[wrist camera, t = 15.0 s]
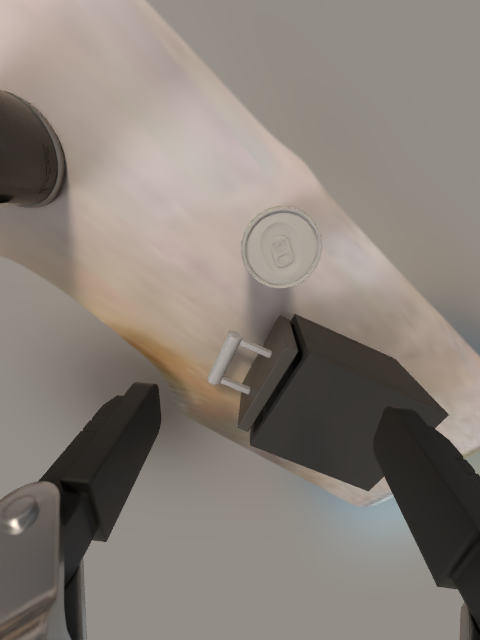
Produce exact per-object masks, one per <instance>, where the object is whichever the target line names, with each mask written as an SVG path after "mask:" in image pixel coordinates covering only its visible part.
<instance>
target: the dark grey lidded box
mask: <svg viewBox="0 0 480 640" xmlns="http://www.w3.org/2000/svg"><path fill="white" fill-rule="evenodd" d="M290 324H291V328H292V331H293V335H295V333H296V334H297V338H298V341H299V344H300V347H301V350H302V353H303V358H302V359H301V361H300V362H299V364H298V365H297V367H296V369H295V370H294V372H293V373H292V375H291V376H290V378H289V379H288V381H287V383H286V384H285V386H284V387H283V389H282V390H281V392H280V393H279V395H278V397H277V398H276V400H275V401H274V403H273V404H272V406H271V407H270V409H269V411H268V412H267V414H266V415H265V417H264V418H263V409H262V410H261V412H260V414H259V415H258V417H257V418H256V420H255V421H254V423H253V425H252V426H251V435H250V445H251V446H253V447H256V448H259V449H261V450H264V451H266V452H269V453H271V454H274V455H277V456H279V457H282V458H284V459H287V460H289V461H292V462H295V463H297V464H300V465H302V466H305V467H307V468H310V469H313V470H315V471H318V472H320V473H323V474H325V475H328V476H330V477H333V478H336V479H338V480H341V481H343V482H346V483H348V484H351V485H354V486H356V487H359V488H361V489H364V490H366V491H369V490H370V489H371V488H372V487H373V486H374V485H376V484H377V483H378V482H379V481H380V480H381V479H382V478H383V477H384V474H383V472H382V470H381V468H380V466H379V464H378V462H377V460H376V458H375V454H374V450H373V440H374V436H375V433H376V431H377V428H378V425H379V422H380V419H381V417H382V414H383V411H384V409H385V408H386V407H388V406H391V407H401V408H411V409H414V410H415V411H416V412H417V413H418V414H419V415H420V417H421V418H422V419H423V420H424V422H425V423H426V424H427V425H428V426H432V427H433V428H434V429H435V428H436V427H437V426H438V425H439V424H440V423H441V422H442V421H443V420H444V419H445V418H446V417H447V416H448V415H449V414H448V413H447V412H446V411H445V410H444V409H443V408H442V407H441V406H440V405H439V404H438V403H437V402H436V401H435V400H434V399H433V398H432V397H431V396H430V395H429V394H428V393H427V392H426V391H425V390H424V389H423V388H422V386H421V385H420V384H419V383H418V382H417V381H416V380H415V379H414V378H413V377H412V376H411V375H410V374H409V373H408V372H407V371H406V370H405V369H404V368H403V367H402V366H401V365H400V364H399V362H398V361H397V360H396V359H394V358H392V357H389V356H387V355H385V354H383V353H380V352H378V351H376V350H374V349H372V348H369V347H367V346H365V345H363V344H360V343H358V342H356V341H354V340H352V339H349V338H347V337H345V336H343V335H341V334H338V333H336V332H334V331H332V330H329V329H327V328H325V327H323V326H321V325H318V324H316V323H314V322H312V321H309V320H307V319H305V318H303V317H301V316H298V315H296V314H295V315H294V316H293V318H292V320H291V322H290Z"/></svg>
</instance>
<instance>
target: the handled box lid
mask: <svg viewBox="0 0 480 640" xmlns="http://www.w3.org/2000/svg"><path fill="white" fill-rule="evenodd" d="M238 345H240V346H242V347H244V348H247V349H249V350H251V351H254V352H256V353H258V356H257V358H256V359H255V361H254V363H253V365H252V367H251V369H250V370H249V372H248V374H247V376H246V378H245V379H244V381H243V383H242V384H241V383H239V382H236V381H234V380H231V379H229V378H227V377H224V376H223V375H224V373H225V371H226V369H227V367H228V365H229V363H230V361H231V359H232V357H233V355H234V353H235V351H236V349H237V347H238ZM302 358H303V353H302V350H301V347H300V344H299V341H298V338H297V334H296V333H295V335H293V331H292V328H291V324H290V321H289V319H287V318H285V317H282V316H279V318H278V320H277V321H276V323H275V325H274V327H273V329H272V331H271V332H270V334H269V336H268V338H267V340H266V341H265V343H264V345H263V347H262V346H259V345H257V344H255V343H252V342H250V341H248V340H245V339H243V338H242V336H241V334H239V333H238V332H236V331H229V333H228V335H227V337H226V340H225V342H224V344H223V346H222V348H221V350H220V352H219V354H218V356H217V359H216V361H215V363H214V365H213V367H212V369H211V371H210V373H209V375H208V378H207V379H208V381H209V382H210V383H211V384H213V385H218V384H219V383H221V384H224V385H226V386H229V387H231V388H234V389H236V390H238V391H241V401H240V410H239V420H238V428H240V429H242V430H245V431H247V432H248V431H249V429H250V428H251V426H252V425H253V423H254V421H255V420H256V418H257V417H258V415H259V414H260V412H261V410H262V409H263V418H264V417H265V415H266V414H267V412H268V411H269V409H270V407H271V406H272V404H273V403H274V401H275V400H276V398H277V397H278V395H279V393H280V392H281V390H282V389H283V387H284V386H285V384H286V383H287V381H288V379H289V378H290V376H291V375H292V373H293V372H294V370H295V369H296V367H297V365H298V364H299V362H300V361H301V359H302Z"/></svg>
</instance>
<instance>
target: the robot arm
mask: <svg viewBox="0 0 480 640" xmlns="http://www.w3.org/2000/svg"><path fill="white" fill-rule="evenodd" d="M64 173H65V165H64V157H63V153H62V149H61V146H60V143H59V141H58V138H57V136H56V134H55V132H54V130H53V129H52V127H51V126H50V124H49V123H48V121H47V120H46V119H45V117H44V116H43V115H42V114H41V113H40V112H39V111H38V110H37V109H36V108H35V107H33V106H32V105H31V104H30V103H28V102H27V101H25V100H23V99H21V98H19V97H17V96H15V95H13V94H11V93H9V92H6V91H3V90H0V206H1V205H16V206H20V207H41V206H44V205H46V204H48V203H50V202H51V201H52V200H53V199H54V198H55V197H56V196H57V195H58V193H59V192H60V190H61V187H62V184H63V181H64ZM160 424H161V411H160V399H159V389H158V386H157V384H150V383H139V382H135V383H134V384H133V385H132V386H131V387H130V388H129V390H128V391H127V392H126V393H125V395H124V396H116V397H114V398H113V399H111V400H110V401H109V402H107V403H106V404H104V405H103V406H102V407H101V408H100V409H99V410H98V412H97V413H96V414H95V416H94V417H93V418H92V420H90V421H89V422H88V423H87V425H86V426H85V427H84V428H83V431H81V432H80V433H79V434H78V435H77V436H76V438H75V439H74V440H73V441H72V442H71V444H70V445H69V446H68V447H67V448H66V450H65V451H64V452H63V453H62V454H61V455H60V457H59V458H58V459H57V460H56V461H55V462H54V464H53V465H52V466H51V467H50V468H49V470H48V471H47V472H46V473H45V474H44V475H43V477H42V478H41V479H40V480H39V481H38V482H34V483H30V484H27V485H24V486H22V487H20V488H17V489H16V490H14V491H13V492H11V493H9V494H7V495H6V496H5V497H3V498H2V499H1V500H0V640H87V630H86V609H85V588H84V587H85V586H84V565H83V556H84V554H85V552H86V550H87V549H88V547H89V544H90V543H91V541H92V540H95V541H103V542H106V541H107V540H108V537H109V535H110V533H111V531H112V529H113V527H114V525H115V523H116V520H117V519H118V517H119V514H120V512H121V510H122V508H123V506H124V504H125V502H126V500H127V498H128V496H129V494H130V491H131V489H132V487H133V485H134V483H135V481H136V479H137V477H138V475H139V473H140V470H141V468H142V466H143V464H144V462H145V460H146V458H147V456H148V454H149V452H150V449H151V447H152V445H153V443H154V441H155V439H156V437H157V435H158V432H159V429H160ZM373 450H374V454H375V458H376V460H377V462H378V464H379V466H380V468H381V470H382V472H383V474H384V476H385V479H386V481H387V483H388V485H389V487H390V489H391V491H392V493H393V495H394V497H395V499H396V501H397V503H398V506H399V508H400V510H401V512H402V514H403V516H404V518H405V520H406V522H407V524H408V526H409V528H410V531H411V533H412V535H413V537H414V539H415V541H416V543H417V545H418V547H419V549H420V551H421V553H422V556H423V557H424V560H425V562H426V564H427V566H428V568H429V570H430V572H431V574H432V576H433V578H434V580H435V583H436V585H437V586H438V587H445V588H452V589H458V590H459V592H460V594H461V596H462V598H463V600H464V601H465V602H464V603H463V605H462V607H461V617H460V640H480V476H479V475H478V474H476V473H475V470H474V469H473V467H472V466H471V465H470V464H469V463H468V462H467V460H464V459H463V456H462V455H461V453H460V452H459V451H458V450H457V449H456V448H455V446H454V445H453V444H452V443H451V442H450V440H448V439H447V438H446V437H444V436H443V435H442V434H441V433H439V432H438V431H437V430H435V429H434V428H433V427H432V426H428V425H427V424H426V423H425V422H424V420H423V419H422V418H421V417H420V415H419V414H418V413H417V412H416V411H415V410H414V409H411V408H401V407H391V406H388V407H386V408H385V409H384V411H383V414H382V417H381V419H380V422H379V425H378V428H377V431H376V433H375V436H374V440H373Z"/></svg>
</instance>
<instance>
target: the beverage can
mask: <svg viewBox="0 0 480 640" xmlns="http://www.w3.org/2000/svg"><path fill="white" fill-rule="evenodd" d="M321 248H322V244H321V236H320V233H319V231H318V229H317V226H316V224H315V223H314V221H313V220H312V219H311V218H310V216H309V215H307V214H306V213H304V212H303V211H301V210H300V209H297V208H293V207H290V206H277V207H273V208H269V209H267V210H265V211H263V212H262V213H260V214H258V215H257V216H256V217H255V218H254V219H253V220H252V221H251V222H250V224H249V225H248V227H247V229H246V231H245V233H244V236H243V240H242V258H243V262H244V265H245V266H246V268H247V270H248V272H249V273H250V274H251V275H252V276H253V277H254V279H255V280H256V281H258V282H260V283H261V284H263V285H265V286H268V287H271V288H281V289H284V288H288V287H293V286H295V285H297V284H299V283H301V282H303V281H304V280H305V279H306V278H308V277H309V276H310V275H311V273H312V272H313V271H314V269H315V268H316V266H317V264H318V261H319V259H320V255H321Z"/></svg>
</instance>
